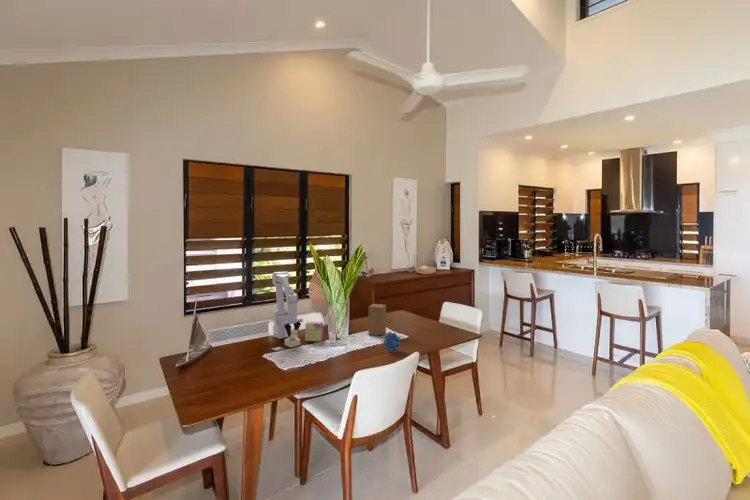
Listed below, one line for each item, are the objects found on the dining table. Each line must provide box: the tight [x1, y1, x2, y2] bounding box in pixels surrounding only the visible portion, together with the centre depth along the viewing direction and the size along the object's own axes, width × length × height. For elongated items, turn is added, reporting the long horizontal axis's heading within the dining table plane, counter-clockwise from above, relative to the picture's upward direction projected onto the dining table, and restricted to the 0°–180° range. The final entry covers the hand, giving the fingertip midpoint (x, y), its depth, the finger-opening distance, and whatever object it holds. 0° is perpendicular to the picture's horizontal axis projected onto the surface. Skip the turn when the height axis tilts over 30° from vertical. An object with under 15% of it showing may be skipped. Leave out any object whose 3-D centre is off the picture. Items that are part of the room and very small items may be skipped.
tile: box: [270, 346, 286, 352], centre depth 228 cm, size 6×6×1 cm
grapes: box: [382, 331, 401, 353], centre depth 223 cm, size 12×7×12 cm, turn 121°
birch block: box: [287, 328, 299, 339], centre depth 236 cm, size 4×4×5 cm
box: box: [304, 320, 324, 342], centre depth 247 cm, size 10×6×12 cm, turn 84°
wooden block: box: [367, 303, 387, 336], centre depth 262 cm, size 10×10×20 cm
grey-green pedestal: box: [284, 337, 301, 348], centre depth 237 cm, size 7×7×4 cm
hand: (292, 334), depth 236 cm, fingers closed on birch block, 4 cm apart
